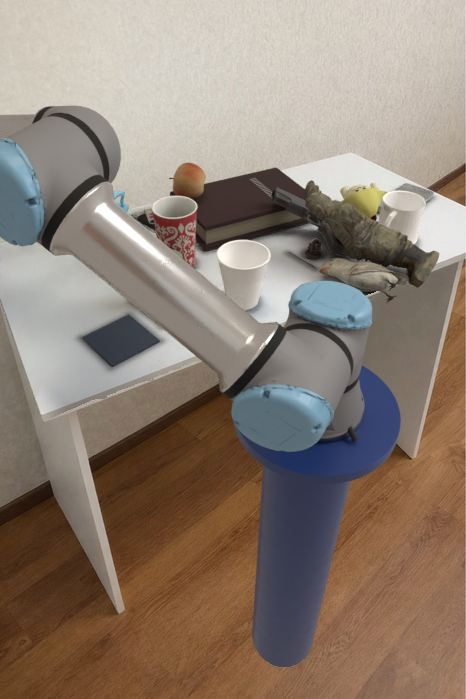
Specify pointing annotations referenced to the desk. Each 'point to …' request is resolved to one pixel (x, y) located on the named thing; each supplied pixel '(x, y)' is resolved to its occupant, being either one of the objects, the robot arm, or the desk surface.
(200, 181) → the apple
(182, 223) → the mug
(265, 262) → the cup
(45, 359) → the desk surface
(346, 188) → the toy
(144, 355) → the desk surface
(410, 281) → the statue
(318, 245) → the figurine
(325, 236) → the handgun
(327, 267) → the decorative bird
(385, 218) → the mug
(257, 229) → the book
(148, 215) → the usb flash drive
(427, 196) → the phone
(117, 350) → the slate mat
